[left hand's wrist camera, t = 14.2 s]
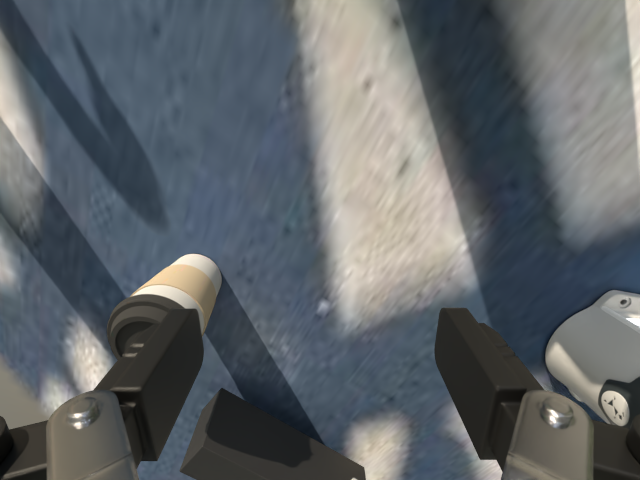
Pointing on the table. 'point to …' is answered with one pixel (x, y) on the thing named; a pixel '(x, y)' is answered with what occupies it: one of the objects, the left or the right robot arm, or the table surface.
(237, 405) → the bar
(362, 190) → the table surface
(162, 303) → the coffee cup
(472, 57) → the table surface
